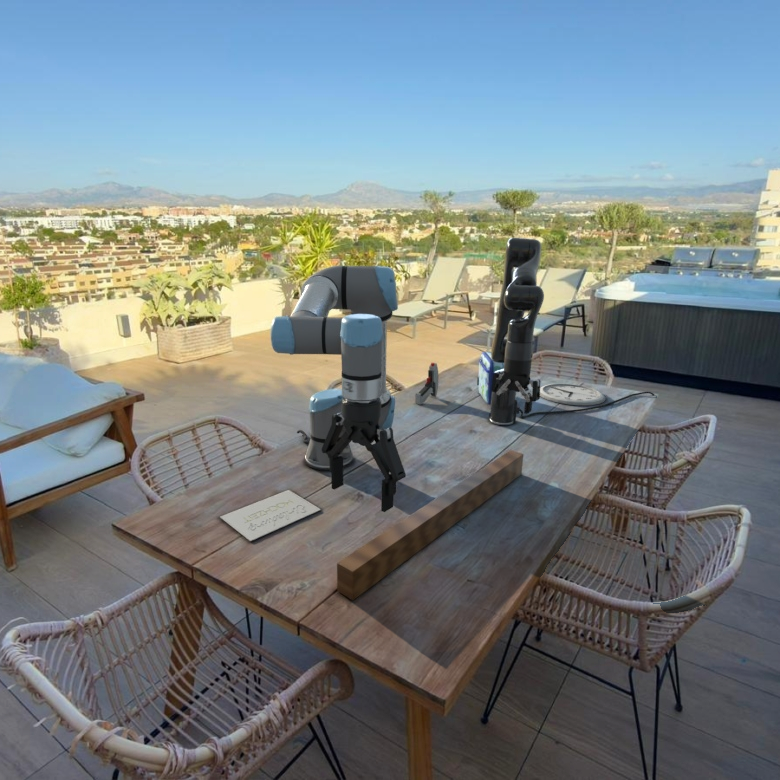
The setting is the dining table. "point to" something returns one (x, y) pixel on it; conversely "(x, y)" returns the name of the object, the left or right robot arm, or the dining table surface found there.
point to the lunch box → (487, 375)
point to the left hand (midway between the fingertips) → (361, 497)
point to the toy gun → (429, 385)
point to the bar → (423, 526)
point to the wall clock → (571, 394)
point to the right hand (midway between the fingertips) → (513, 410)
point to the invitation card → (269, 514)
